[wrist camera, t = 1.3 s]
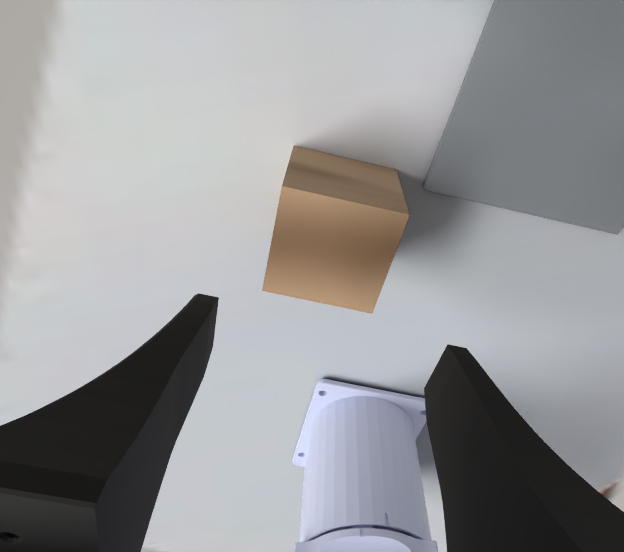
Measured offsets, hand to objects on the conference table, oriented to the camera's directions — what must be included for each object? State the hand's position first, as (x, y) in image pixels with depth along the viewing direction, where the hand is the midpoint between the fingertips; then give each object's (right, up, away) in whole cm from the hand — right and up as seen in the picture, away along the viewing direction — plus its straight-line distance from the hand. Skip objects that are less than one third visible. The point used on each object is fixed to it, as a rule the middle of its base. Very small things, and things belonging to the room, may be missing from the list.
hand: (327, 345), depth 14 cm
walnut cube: (+1, +6, +9) cm, 10 cm away
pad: (+11, +10, +5) cm, 15 cm away
